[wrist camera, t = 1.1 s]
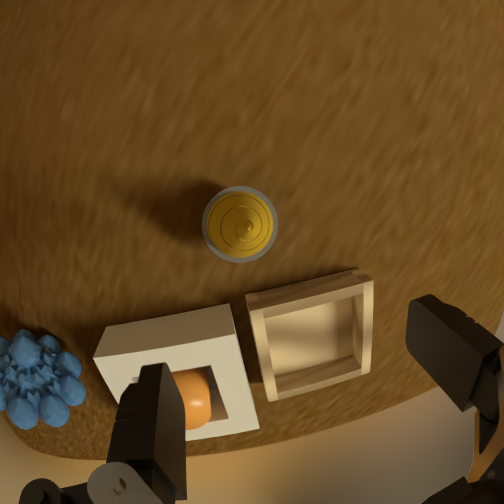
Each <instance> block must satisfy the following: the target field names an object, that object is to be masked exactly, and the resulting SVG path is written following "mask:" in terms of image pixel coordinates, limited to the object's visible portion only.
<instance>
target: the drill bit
mask: <svg viewBox="0 0 504 504" xmlns="http://www.w3.org/2000/svg"><path fill="white" fill-rule="evenodd" d="M277 232H278V217H277V213H276V210H275V208H274V206H273V204H272V203H271V201H270V200H269V199H268V198H267V197H266V196H265V195H264V194H263V193H261V192H259V191H258V190H256V189H253V188H250V187H244V186H236V187H230V188H227V189H224V190H223V191H221V192H219V193H218V194H216V195H215V196H214V197H213V198H212V199H211V200H210V201H209V203H208V204H207V206H206V208H205V210H204V213H203V217H202V233H203V236H204V239H205V241H206V243H207V245H208V247H209V248H210V249H211V250H212V251H213V252H214V253H215V254H216V255H217V256H219V257H220V258H222V259H224V260H227V261H230V262H236V263H244V262H250V261H253V260H255V259H257V258H259V257H261V256H262V255H264V254H265V253H266V252H267V251H268V250H269V249H270V247H271V246H272V245H273V243H274V241H275V239H276V235H277Z"/></svg>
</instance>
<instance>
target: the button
mask: <svg viewBox="0 0 504 504" xmlns="http://www.w3.org/2000/svg"><path fill="white" fill-rule="evenodd" d="M171 373H172V376H173V378H174V380H175V382H176V385H177V387H178V389H179V392H180V394H181V396H182V399H183V402H184V406H185V415H186V430H193V429H197V428H199V427H201V426H203V425H205V424H206V423H207V422H208V421H209V419H210V417H211V405H210V391H209V377H208V374H207V372H206V370H205V369H204V368H203V367H197V368H192V369H186V370H180V371H174V372H171Z"/></svg>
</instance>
